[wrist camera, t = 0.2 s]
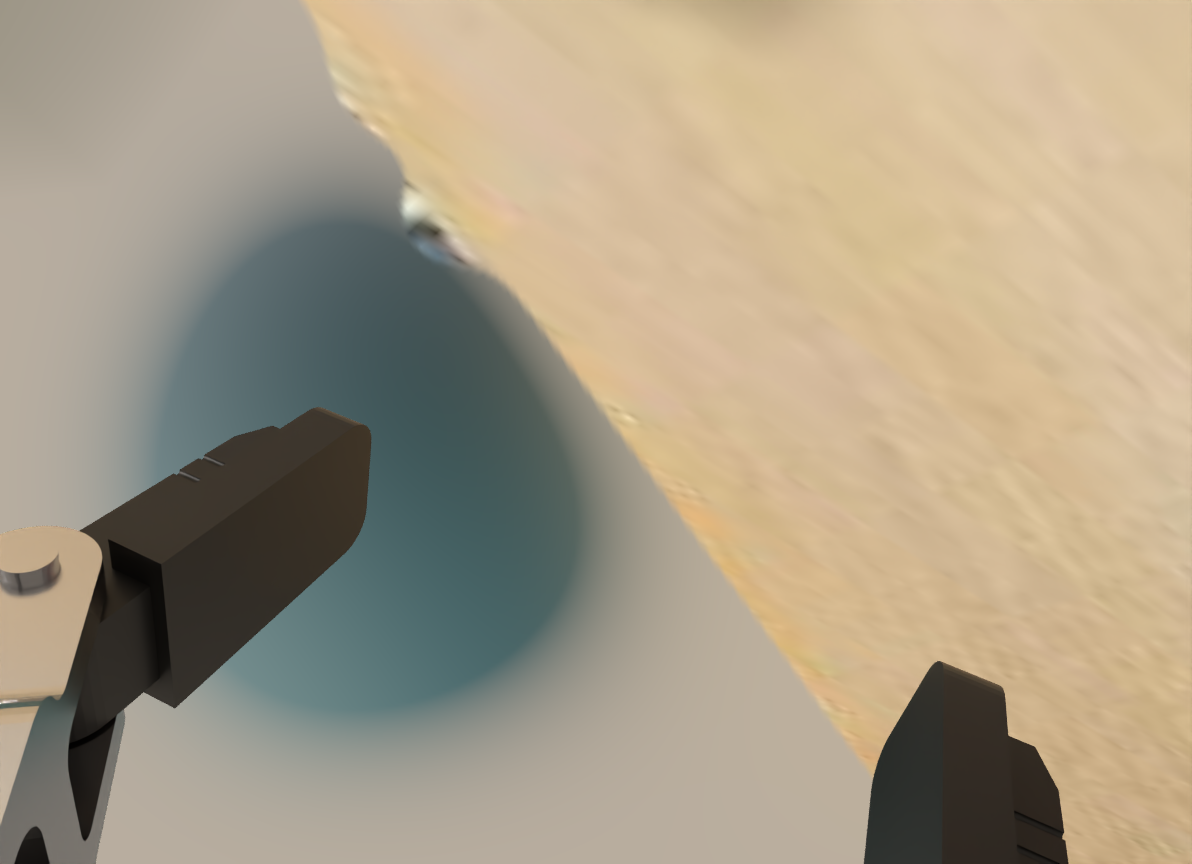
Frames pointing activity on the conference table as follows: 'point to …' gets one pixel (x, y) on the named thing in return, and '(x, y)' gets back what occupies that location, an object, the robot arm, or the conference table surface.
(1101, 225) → the conference table surface
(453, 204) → the conference table surface
